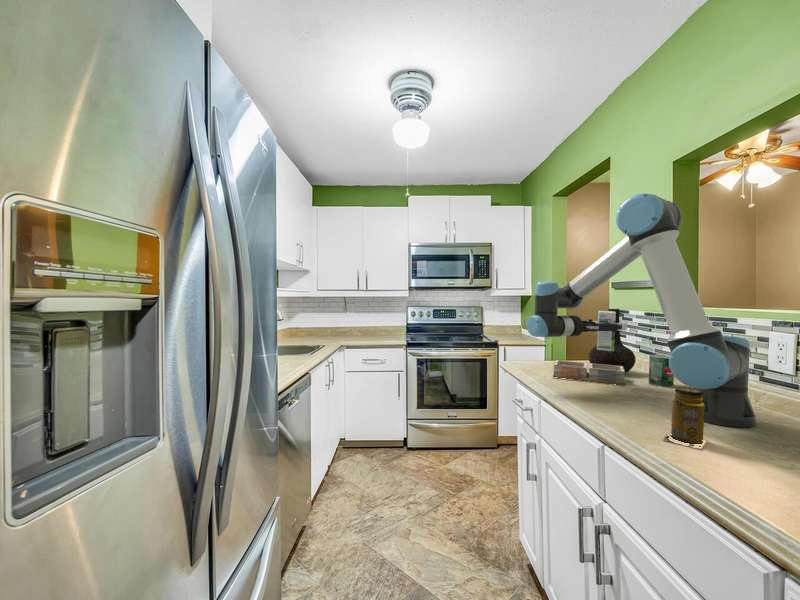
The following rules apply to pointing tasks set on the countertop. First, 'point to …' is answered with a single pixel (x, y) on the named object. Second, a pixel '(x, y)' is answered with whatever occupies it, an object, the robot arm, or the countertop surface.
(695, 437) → the condiment
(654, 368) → the canned tomato
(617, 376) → the socket board
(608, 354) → the glass bottle
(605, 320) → the syrup box
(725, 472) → the countertop surface
